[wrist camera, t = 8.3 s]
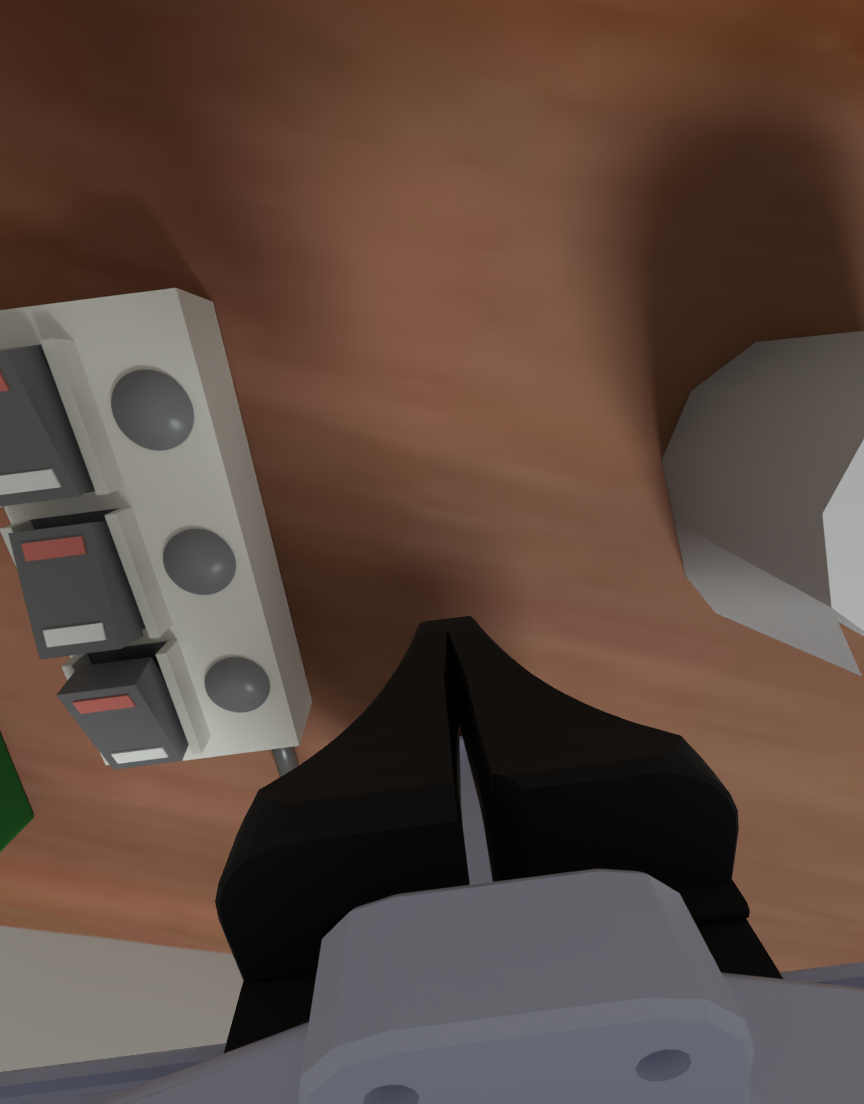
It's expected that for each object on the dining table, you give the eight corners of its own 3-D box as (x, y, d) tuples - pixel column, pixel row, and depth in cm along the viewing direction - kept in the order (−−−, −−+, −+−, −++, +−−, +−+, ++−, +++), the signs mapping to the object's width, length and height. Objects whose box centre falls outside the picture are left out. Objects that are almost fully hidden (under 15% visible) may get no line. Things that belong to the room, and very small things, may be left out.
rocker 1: (102, 480, 17) (78, 497, 16) (22, 490, 17) (-8, 508, 16) (37, 344, 15) (3, 351, 13) (-55, 356, 15) (-98, 364, 13)
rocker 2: (143, 636, 18) (119, 649, 17) (69, 645, 18) (38, 660, 17) (118, 519, 17) (90, 522, 16) (40, 529, 17) (6, 533, 16)
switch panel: (327, 765, 25) (313, 832, 22) (177, 784, 25) (137, 854, 22) (212, 301, 18) (160, 281, 14) (-2, 329, 18) (-112, 316, 14)
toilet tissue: (701, 648, 24) (848, 785, 16) (645, 384, 20) (810, 390, 12) (884, 586, 23) (1137, 697, 15) (869, 297, 19) (1214, 236, 11)
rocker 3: (194, 731, 21) (181, 762, 19) (129, 739, 21) (112, 771, 19) (151, 657, 18) (133, 686, 17) (78, 666, 18) (55, 696, 17)
